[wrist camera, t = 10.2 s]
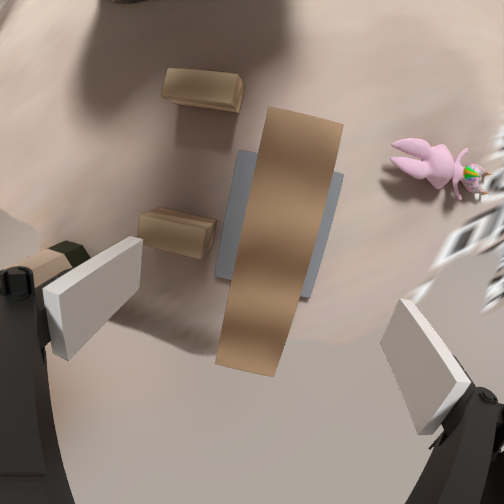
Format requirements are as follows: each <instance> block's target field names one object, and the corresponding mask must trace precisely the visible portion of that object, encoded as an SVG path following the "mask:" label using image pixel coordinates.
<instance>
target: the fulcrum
mask: <svg viewBox="0 0 504 504" xmlns="http://www.w3.org/2000/svg"><path fill="white" fill-rule="evenodd" d="M257 156H258V153H254V152H249V151H244V150H239V151H238V156H237V160H236V165H235V170H234V175H233V180H232V185H231V190H230V194H229V199H228V205H227V210H226V215H225V220H224V225H223V230H222V236H221V241H220V246H219V252H218V257H217V263H216V268H215V274H214V276H216V277H220V278H225V279H229V280H232V275H233V270H234V265H235V261H236V256H237V251H238V246H239V241H240V236H241V231H242V227H243V222H244V217H245V212H246V208H247V203H248V198H249V193H250V189H251V184H252V179H253V175H254V170H255V165H256V161H257ZM343 177H344V174H341V173H337V172H333V175H332V179H331V184H330V188H329V192H328V196H327V200H326V204H325V208H324V212H323V216H322V220H321V223H320V227H319V231H318V235H317V238H316V242H315V246H314V249H313V253H312V257H311V260H310V264H309V267H308V271H307V274H306V278H305V281H304V284H303V288H302V291H301V294H300V296H302V297H307V298H310V296H311V293H312V290H313V287H314V284H315V280H316V277H317V274H318V270H319V267H320V264H321V260H322V257H323V253H324V250H325V246H326V243H327V239H328V235H329V232H330V228H331V224H332V221H333V217H334V213H335V209H336V205H337V201H338V197H339V193H340V189H341V185H342V181H343Z"/></svg>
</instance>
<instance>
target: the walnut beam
mask: <svg viewBox="0 0 504 504" xmlns="http://www.w3.org/2000/svg"><path fill="white" fill-rule="evenodd" d="M343 126H344V125H343V124H340V123H336V122H333V121H329V120H325V119H321V118H318V117H314V116H310V115H305V114H301V113H297V112H293V111H288V110H284V109H279V108H274V107H268V111H267V115H266V120H265V124H264V129H263V133H262V138H261V143H260V147H259V152H258V156H257V161H256V165H255V170H254V175H253V179H252V184H251V189H250V193H249V198H248V203H247V208H246V212H245V217H244V222H243V227H242V231H241V236H240V241H239V246H238V251H237V256H236V261H235V265H234V270H233V275H232V280H231V285H230V290H229V295H228V300H227V305H226V310H225V315H224V320H223V325H222V331H221V336H220V341H219V346H218V351H217V356H216V362H215V364H217V365H221V366H226V367H229V368H234V369H238V370H242V371H246V372H251V373H255V374H260V375H265V376H270V377H274V374H275V372H276V369H277V366H278V363H279V360H280V357H281V354H282V351H283V348H284V345H285V342H286V339H287V336H288V333H289V330H290V327H291V324H292V320H293V317H294V314H295V311H296V308H297V304H298V301H299V298H300V294H301V291H302V288H303V284H304V281H305V278H306V274H307V271H308V267H309V264H310V260H311V257H312V253H313V249H314V246H315V242H316V238H317V235H318V231H319V227H320V223H321V220H322V216H323V212H324V208H325V204H326V200H327V196H328V192H329V188H330V184H331V179H332V175H333V171H334V167H335V162H336V158H337V153H338V149H339V144H340V140H341V135H342V130H343Z"/></svg>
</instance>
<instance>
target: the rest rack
mask: <svg viewBox="0 0 504 504" xmlns="http://www.w3.org/2000/svg"><path fill="white" fill-rule="evenodd" d="M244 89H245V86H244V84H243V83H242V81H241V79H240V77H239V75H238V74H233V73H225V72H216V71H206V70H195V69H180V68H168V70H167V73H166V77H165V81H164V85H163V89H162V93H161V96H162V97H164V98H166V99H168V100H170V101H172V102H174V103H176V104H178V105H186V106H194V107H203V108H210V109H217V110H224V111H231V112H237V113H239V111H240V107H241V102H242V98H243V94H244ZM216 223H217V220H214V219H209V218H205V217H200V216H196V215H191V214H186V213H182V212H177V211H172V210H168V209H163V208H157V209H154V210H152V211H149V212H146V213H144V214H141V215H140V218H139V227H138V237H137V238H140V239H143V245H145V246H149V247H153V248H157V249H161V250H165V251H169V252H173V253H177V254H181V255H185V256H189V257H193V258H197V259H202V257H203V256H204V255H205V254H206V253H207V251H208V250H209V249H210V248H211V247H212V245H213V239H214V234H215V228H216Z"/></svg>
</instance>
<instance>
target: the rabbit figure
mask: <svg viewBox="0 0 504 504" xmlns="http://www.w3.org/2000/svg"><path fill="white" fill-rule="evenodd" d="M392 147H395V148H397V149H399V150H401V151H403V152H405V153H407V154H410V155H413V156H416V157H419V158H422V161H420V160H416V159H412V158H407V157H390V160H391V161H392V162H393V163H394V164H395V165H396V166H397V167H398V168H400V169H401V170H402V171H404V172H405V173H407V174H409V175H411V176H412V177H414V178H417V179H424V178H427V180H428V181H429V182H430V183H431V184H432V185H433V186H434V187H435V188H436V189H440V188H442V187H443V186H444V185H445V184H447V183H448V182H449V181H450V179H451V178H452V183H453V187H454V191H455V194H456V196H457V198H458V200H459V201H461V200H462V197H461V195H460V193H459V191H458V182H459V181H461V182H462V183H463V185H464V186H465V188H466V189H467V190H468V191H469V192H471V193H482V194H481V195H484V194H489V193H487V192H486V191H484V190H483V188H482V187H481V186H480V184H479V178H480V177H481V176H482V175H484V177H485V176H486V175H492V174H490V173H488V171H485V170H484V169H483V168H481V167H480V166H478V165H477V164H469V165H468V166H466V167H462V166H461V159H462V157H463V156H464V155H465V154H467V153H468V149H467V148H465V149H464V150H463V151H462V152H461V153H460V154H459V155H458V156H457V158H456V160H455V161H454V160H453V157H452V155H451V154H450V152H449V150H448V149H447V147H446V146H445V145H443V144H440V145H437V146H433V147H431V146H430V145H429V144H428V143H427V142H426V141H424V140H422V139H416V138H408V139H403V140H399V141H396V142H394V143H392Z"/></svg>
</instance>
